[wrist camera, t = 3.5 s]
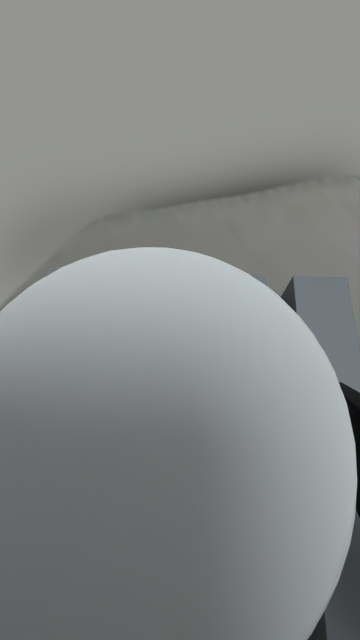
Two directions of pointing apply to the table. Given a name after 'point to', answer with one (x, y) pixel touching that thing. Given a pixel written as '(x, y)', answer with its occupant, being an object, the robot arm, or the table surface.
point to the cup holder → (356, 372)
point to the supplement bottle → (167, 456)
